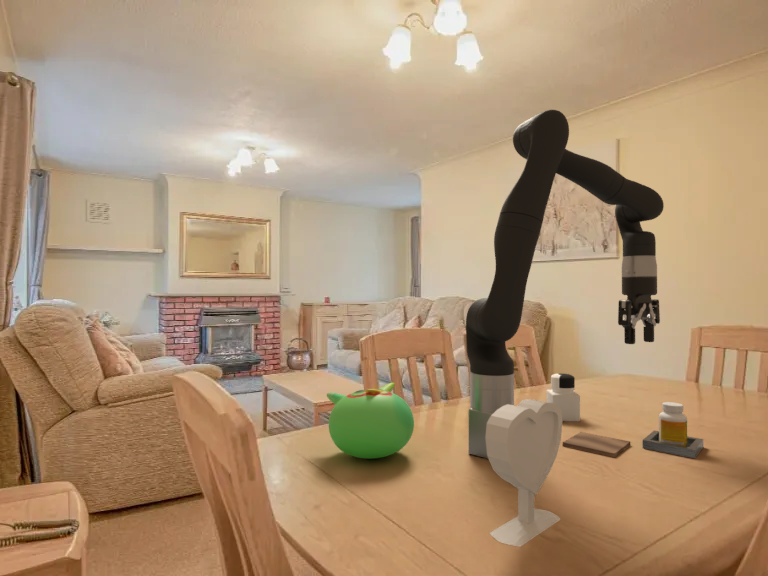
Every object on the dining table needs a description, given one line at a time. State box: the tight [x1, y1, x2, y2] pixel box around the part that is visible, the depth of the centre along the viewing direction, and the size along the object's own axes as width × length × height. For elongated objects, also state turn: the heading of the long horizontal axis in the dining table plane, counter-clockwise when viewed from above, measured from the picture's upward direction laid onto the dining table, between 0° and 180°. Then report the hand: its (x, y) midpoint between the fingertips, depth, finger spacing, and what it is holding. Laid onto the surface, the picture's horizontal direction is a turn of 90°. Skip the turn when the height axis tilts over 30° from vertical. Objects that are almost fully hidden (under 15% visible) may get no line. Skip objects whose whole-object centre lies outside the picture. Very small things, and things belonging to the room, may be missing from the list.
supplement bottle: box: [658, 401, 688, 447], centre depth 106 cm, size 5×5×10 cm
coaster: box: [562, 431, 631, 458], centre depth 107 cm, size 11×11×1 cm
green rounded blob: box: [326, 382, 415, 460], centre depth 101 cm, size 18×17×15 cm
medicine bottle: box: [546, 372, 581, 423], centre depth 130 cm, size 7×7×12 cm
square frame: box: [642, 430, 704, 459], centre depth 105 cm, size 10×10×2 cm
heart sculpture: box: [485, 398, 563, 548], centre depth 70 cm, size 16×5×18 cm, turn 133°
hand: (639, 342), depth 114 cm, fingers open, 8 cm apart
